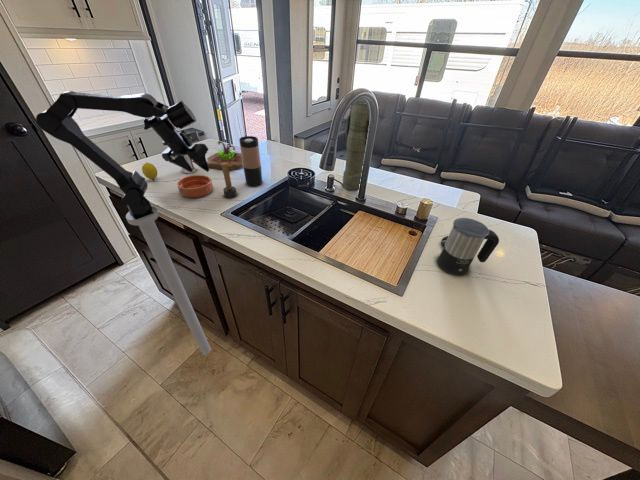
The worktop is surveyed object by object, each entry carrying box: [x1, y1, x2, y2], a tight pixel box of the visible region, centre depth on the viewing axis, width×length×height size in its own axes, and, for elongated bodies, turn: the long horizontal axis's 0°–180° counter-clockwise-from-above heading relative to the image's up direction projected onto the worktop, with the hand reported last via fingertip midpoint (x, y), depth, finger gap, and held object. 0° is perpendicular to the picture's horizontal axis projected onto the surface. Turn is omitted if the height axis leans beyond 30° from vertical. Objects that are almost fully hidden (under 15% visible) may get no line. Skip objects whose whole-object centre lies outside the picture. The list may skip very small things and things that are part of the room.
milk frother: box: [436, 217, 500, 276], centre depth 78 cm, size 14×16×15 cm
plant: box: [206, 140, 244, 171], centre depth 131 cm, size 20×20×11 cm
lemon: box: [141, 161, 158, 181], centre depth 113 cm, size 6×6×8 cm
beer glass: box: [181, 146, 197, 174], centre depth 120 cm, size 7×7×15 cm
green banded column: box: [342, 101, 370, 192], centre depth 108 cm, size 9×12×35 cm
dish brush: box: [221, 162, 238, 199], centre depth 103 cm, size 5×5×14 cm
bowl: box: [176, 174, 214, 199], centre depth 108 cm, size 13×13×4 cm
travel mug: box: [238, 135, 263, 188], centre depth 111 cm, size 8×8×20 cm
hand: (200, 171), depth 97 cm, fingers open, 9 cm apart
